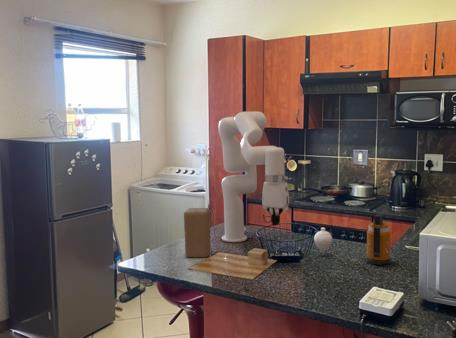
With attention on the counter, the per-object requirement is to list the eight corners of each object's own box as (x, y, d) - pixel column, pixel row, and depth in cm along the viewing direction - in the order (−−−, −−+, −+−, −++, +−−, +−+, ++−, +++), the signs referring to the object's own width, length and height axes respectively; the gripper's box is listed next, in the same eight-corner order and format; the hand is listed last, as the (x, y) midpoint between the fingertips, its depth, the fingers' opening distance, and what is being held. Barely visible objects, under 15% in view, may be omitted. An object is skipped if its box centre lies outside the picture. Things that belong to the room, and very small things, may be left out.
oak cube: (254, 259, 188) (254, 248, 187) (267, 261, 185) (267, 249, 185) (248, 263, 183) (248, 252, 182) (261, 265, 180) (261, 253, 179)
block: (211, 251, 202) (210, 207, 200) (207, 258, 192) (206, 212, 190) (189, 250, 203) (188, 207, 201) (184, 257, 193) (183, 212, 191)
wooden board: (219, 252, 200) (219, 252, 200) (277, 260, 186) (277, 260, 186) (188, 269, 179) (188, 268, 178) (251, 279, 165) (251, 279, 165)
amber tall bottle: (390, 260, 184) (391, 212, 182) (387, 268, 174) (388, 218, 172) (368, 257, 188) (369, 210, 185) (364, 266, 178) (364, 216, 175)
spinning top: (312, 257, 190) (312, 229, 189) (316, 251, 197) (316, 225, 196) (330, 258, 188) (330, 230, 186) (333, 253, 195) (333, 226, 193)
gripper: (296, 178, 176) (296, 224, 178) (261, 176, 183) (262, 220, 185) (289, 181, 169) (289, 228, 171) (253, 179, 176) (254, 224, 178)
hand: (275, 224), depth 178 cm, fingers closed
